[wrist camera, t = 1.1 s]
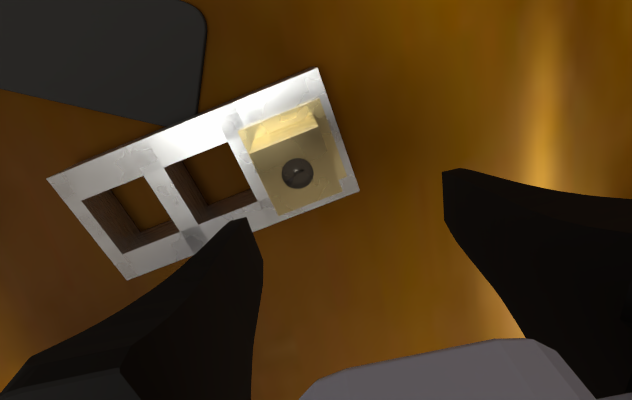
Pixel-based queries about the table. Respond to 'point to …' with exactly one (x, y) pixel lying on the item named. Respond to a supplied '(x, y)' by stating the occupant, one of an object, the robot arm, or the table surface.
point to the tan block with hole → (295, 156)
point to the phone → (106, 55)
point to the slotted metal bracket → (187, 179)
